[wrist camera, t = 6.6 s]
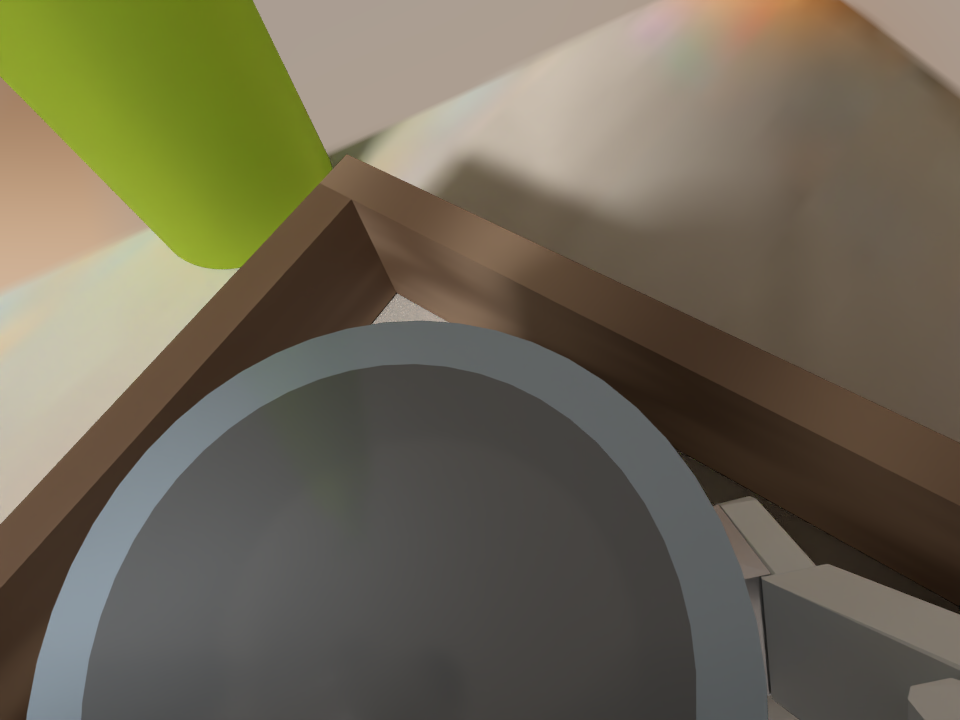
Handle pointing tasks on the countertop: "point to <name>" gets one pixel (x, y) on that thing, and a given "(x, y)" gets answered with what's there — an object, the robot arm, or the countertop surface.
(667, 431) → the crate
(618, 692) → the cup
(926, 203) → the countertop surface
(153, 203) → the soap dispenser
